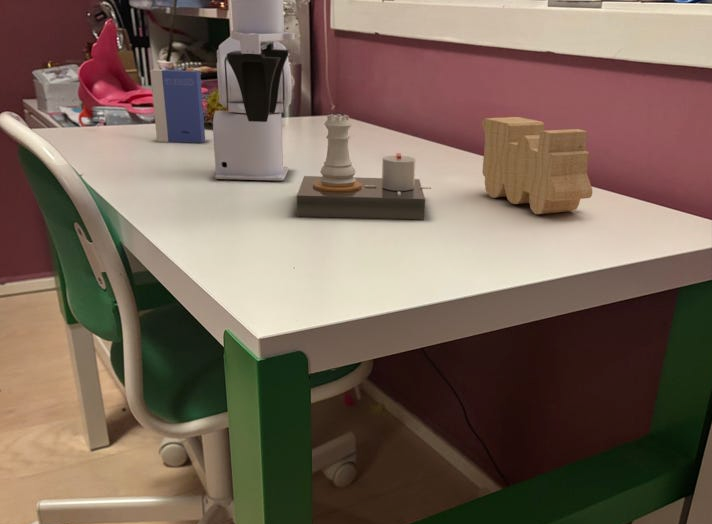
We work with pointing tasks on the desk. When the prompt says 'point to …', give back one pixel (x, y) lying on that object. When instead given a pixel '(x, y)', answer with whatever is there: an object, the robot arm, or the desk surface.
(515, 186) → the toy train
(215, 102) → the yellow-green lumpy cluster
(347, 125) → the rook chess piece
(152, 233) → the desk surface
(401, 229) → the desk surface
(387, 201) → the hob
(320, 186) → the burner
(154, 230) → the desk surface
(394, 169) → the hob knob
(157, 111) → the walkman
